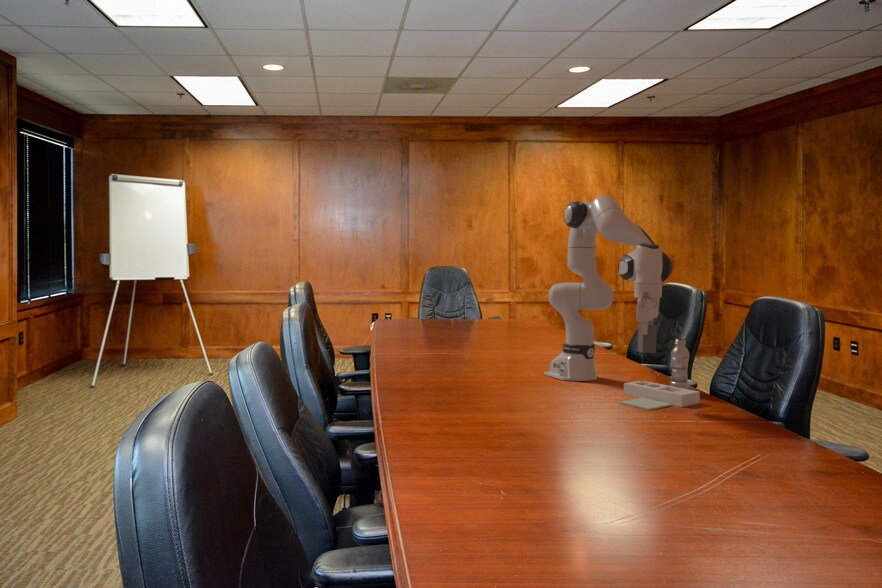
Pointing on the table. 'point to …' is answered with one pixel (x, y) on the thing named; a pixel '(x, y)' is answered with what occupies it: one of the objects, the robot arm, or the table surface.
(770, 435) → the table surface
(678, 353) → the plastic bottle
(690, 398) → the grey holed block
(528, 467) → the table surface
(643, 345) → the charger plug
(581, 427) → the table surface
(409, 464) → the table surface
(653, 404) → the mat
